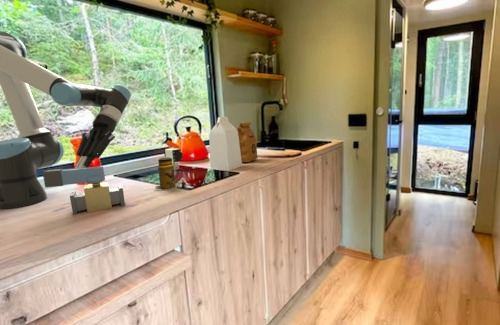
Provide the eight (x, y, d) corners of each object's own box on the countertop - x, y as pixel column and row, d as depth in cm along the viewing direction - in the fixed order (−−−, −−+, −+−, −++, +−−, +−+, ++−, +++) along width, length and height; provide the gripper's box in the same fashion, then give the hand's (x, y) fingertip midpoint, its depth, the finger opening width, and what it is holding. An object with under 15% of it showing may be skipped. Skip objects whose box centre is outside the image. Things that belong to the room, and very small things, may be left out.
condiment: (176, 188, 117) (173, 158, 114) (154, 191, 115) (150, 161, 113) (176, 184, 124) (173, 156, 121) (155, 186, 122) (152, 158, 120)
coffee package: (260, 159, 169) (258, 121, 165) (248, 164, 159) (246, 123, 155) (246, 159, 175) (243, 121, 171) (233, 163, 165) (231, 123, 161)
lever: (101, 182, 95) (99, 167, 94) (43, 188, 92) (40, 172, 91) (106, 179, 100) (104, 164, 99) (51, 184, 97) (48, 169, 96)
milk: (228, 170, 145) (224, 117, 140) (210, 169, 151) (206, 118, 146) (242, 165, 155) (238, 115, 150) (224, 164, 161) (220, 116, 156)
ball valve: (72, 215, 92) (68, 188, 90) (74, 209, 98) (70, 184, 97) (125, 205, 98) (121, 180, 97) (123, 200, 105) (120, 176, 103)
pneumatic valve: (176, 171, 150) (173, 148, 148) (165, 169, 159) (163, 146, 157) (185, 169, 154) (183, 146, 152) (174, 167, 162) (172, 145, 160)
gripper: (85, 114, 109) (53, 168, 97) (115, 112, 105) (85, 168, 93) (99, 127, 115) (70, 179, 103) (128, 125, 111) (101, 180, 99)
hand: (77, 174), depth 98 cm, fingers closed
